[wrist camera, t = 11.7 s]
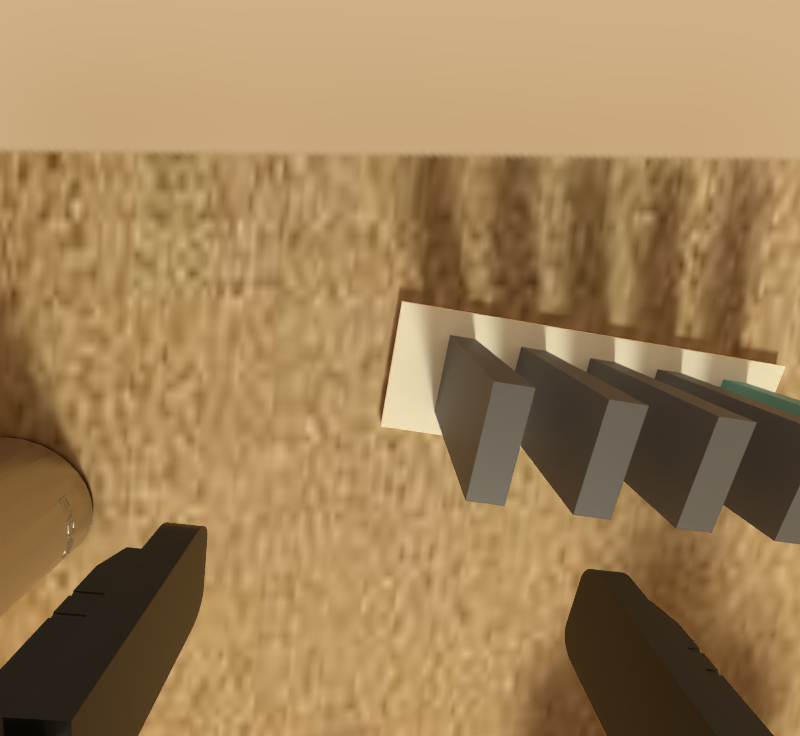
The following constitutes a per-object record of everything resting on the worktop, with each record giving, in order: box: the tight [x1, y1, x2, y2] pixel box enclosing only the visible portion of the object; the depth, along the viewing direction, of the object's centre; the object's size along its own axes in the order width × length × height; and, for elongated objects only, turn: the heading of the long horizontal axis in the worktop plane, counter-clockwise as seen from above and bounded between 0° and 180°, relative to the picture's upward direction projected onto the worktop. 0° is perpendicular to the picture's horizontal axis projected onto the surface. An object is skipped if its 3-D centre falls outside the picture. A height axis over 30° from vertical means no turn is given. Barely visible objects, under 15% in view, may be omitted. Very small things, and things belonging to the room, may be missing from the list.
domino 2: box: [515, 347, 649, 520], centre depth 21 cm, size 2×5×10 cm, turn 170°
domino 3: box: [587, 358, 757, 533], centre depth 21 cm, size 2×5×10 cm, turn 170°
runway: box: [381, 301, 785, 446], centre depth 26 cm, size 25×8×1 cm, turn 80°
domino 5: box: [655, 369, 800, 544], centre depth 22 cm, size 2×5×10 cm, turn 170°
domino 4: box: [721, 379, 800, 416], centre depth 22 cm, size 2×5×10 cm, turn 170°
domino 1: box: [434, 335, 536, 506], centre depth 20 cm, size 2×5×10 cm, turn 170°
